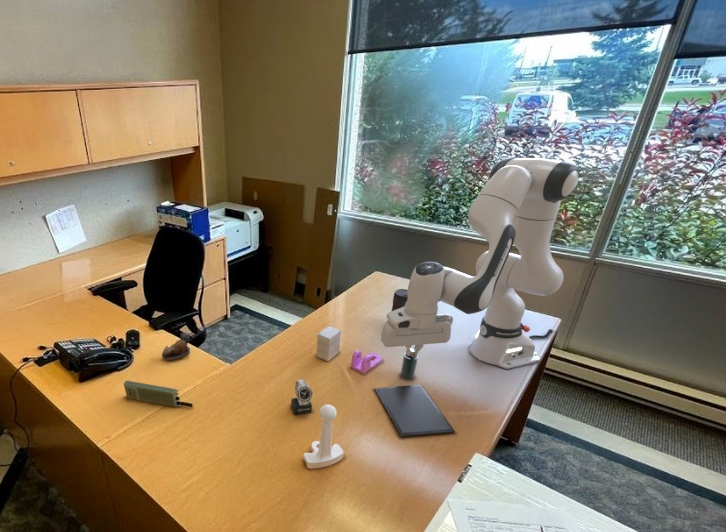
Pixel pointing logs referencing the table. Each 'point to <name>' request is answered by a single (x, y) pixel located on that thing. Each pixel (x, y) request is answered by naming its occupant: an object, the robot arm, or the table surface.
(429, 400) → the tablet
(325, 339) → the small box
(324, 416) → the joystick
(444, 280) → the robot arm
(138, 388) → the handheld radio
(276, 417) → the table surface
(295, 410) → the watch
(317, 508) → the table surface
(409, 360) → the pen cup
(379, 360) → the bracket
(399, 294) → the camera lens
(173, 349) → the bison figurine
